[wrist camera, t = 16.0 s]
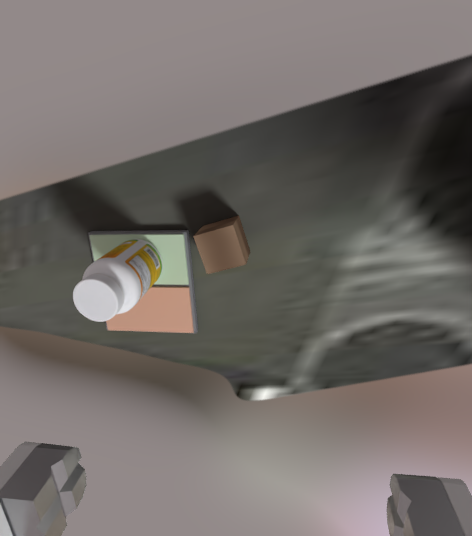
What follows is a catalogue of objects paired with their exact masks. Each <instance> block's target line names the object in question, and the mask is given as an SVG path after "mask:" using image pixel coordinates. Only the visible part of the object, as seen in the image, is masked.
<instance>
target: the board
mask: <svg viewBox="0 0 472 536" xmlns="http://www.w3.org/2000/svg"><path fill="white" fill-rule="evenodd" d="M88 236H89V241H90V246H91V251H92V256H93V261H94V262H95V261H96V260H98V259H99V258H101V257H102V256H104V255H105V254H107V253H108V252H110V251H111V250H113V249H114V248H116V247H117V246H118V245H120V244H121V243H123V242H125V241H127V240H130V239H141V240H145V241H147V242H149V243H151V244H152V245H153V246H154V247H155V248H156V249H157V250H158V252H159V253H160V255H161V258H162V262H163V270H162V273H161V275H160V277H159V278H158V280H157V281H156V282H155V283H154V284H153V285H152V287H151V288H150V289H149V290H148V291H147V292H146V293H145V294H144V296H143V297H142V298H141V299H140V300H139V301H138V302H137V304H136V305H135V306H134V307H133V308H132V309H130V310H129V311H127V312H125V313H121V314H116V315H115V316H114V317H112V318H111V319H109V320H107V321H105V322H106V327H107V330H115V331H145V332H175V333H197V331H198V323H197V312H196V302H195V292H194V281H193V271H192V260H191V250H190V239H189V230H145V231H91V232H89V233H88Z"/></svg>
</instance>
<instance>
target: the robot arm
mask: <svg viewBox="0 0 472 536" xmlns="http://www.w3.org/2000/svg"><path fill="white" fill-rule="evenodd" d="M80 459H81V454H80V451H79V448H76V447H70V446H61V445H53V444H44V443H34V442H24V443H22V444H21V445H19V446H18V447H17V448H16V449H15V451H14V452H13V453H12V454H11V455H10V456H9V457H8V458H7V460H6V461H5V462H4V463H3V464H2V466H0V536H61V535H62V533H63V531H64V530H65V528H66V526H67V522H66V516H67V515H68V514H70V513H71V512H73V511H74V510H75V509H76V508H77V507H78V505H79V503H80V501H81V499H82V497H83V494H84V491H85V487H86V473H85V469H84V468H83V467H82V466H81V465H80V464H79V463H78V462H79V460H80ZM390 488H391V492H392V496H390V497H389V498H388V502H387V523H388V528H389V534H390V536H472V496H471V494H470V492H469V490H468V488H467V486H466V484H465V483H464V482H463V481H462V480H460V479H450V478H436V477H430V476H416V475H403V474H393V475H392V476H391V481H390Z"/></svg>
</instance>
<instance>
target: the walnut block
mask: <svg viewBox="0 0 472 536" xmlns="http://www.w3.org/2000/svg"><path fill="white" fill-rule="evenodd" d="M193 237H194V239H195V242H196V245H197V248H198V250H199V253H200V256H201V259H202V261H203V264H204V267H205V269H206V272H207V274H210V273H214V272H218V271H222V270H226V269H230V268H234V267H238V266H242V265H246V263H247V260H248V257H249V254H250V249H249V246H248V243H247V240H246V237H245V233H244V230H243V227H242V224H241V221H240V218H239V216H235V217H232V218H228V219H225V220H222V221H218V222H215V223H211V224H208V225H204V226H202V227H201V228H200V229H199V231H198V232H197V233H196V234H195V235H194V236H193Z"/></svg>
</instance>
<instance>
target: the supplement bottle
mask: <svg viewBox="0 0 472 536" xmlns="http://www.w3.org/2000/svg"><path fill="white" fill-rule="evenodd" d="M162 270H163V262H162V258H161V255H160V253H159V252H158V250H157V249H156V248H155V247H154V246H153V245H152V244H151V243H149V242H147V241H145V240H141V239H130V240H127V241H125V242H123V243H121V244H120V245H118V246H117V247H116V248H114V249H113V250H111V251H110V252H108V253H107V254H105V255H104V256H102V257H101V258H99V259H98V260H96V261H95V262H93V263H92V264H91V265H90V266H89V267H88V268H87V269H86V271H85V273H84V275H83V280H82V281H80V282H79V283H78V284H77V285H76V287H75V289H74V291H73V300H74V303H75V306H76V308H77V309H78V310H79V312H80V313H81V314H82V315H84V316H85V317H86V318H88V319H90V320H93V321H100V322H102V321H107V320H109V319H111V318H112V317H114V316H115V315H116V314H121V313H125V312H127V311H129V310H130V309H132V308H133V307H134V306H135V305H136V304H137V302H138V301H139V300H140V299H141V298H142V297H143V296H144V294H145V293H146V292H147V291H148V290H149V289H150V288H151V287H152V285H153V284H154V283H155V282H156V281H157V280H158V278H159V277H160V275H161V273H162Z"/></svg>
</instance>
